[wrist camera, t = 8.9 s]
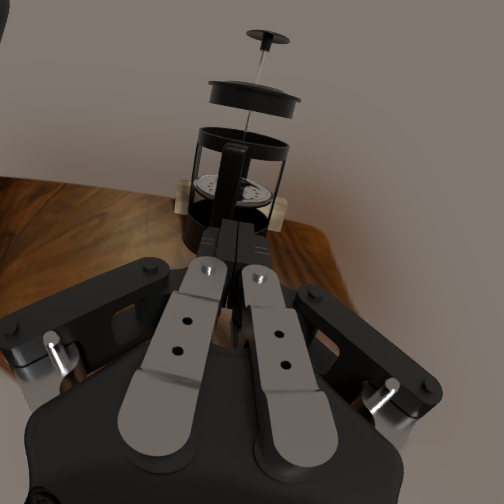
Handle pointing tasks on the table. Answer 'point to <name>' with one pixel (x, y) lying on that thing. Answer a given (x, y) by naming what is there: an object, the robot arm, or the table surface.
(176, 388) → the robot arm
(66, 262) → the table surface
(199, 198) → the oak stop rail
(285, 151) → the french press
